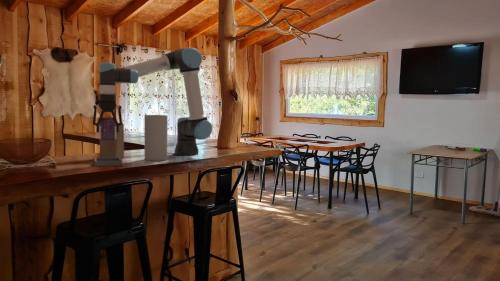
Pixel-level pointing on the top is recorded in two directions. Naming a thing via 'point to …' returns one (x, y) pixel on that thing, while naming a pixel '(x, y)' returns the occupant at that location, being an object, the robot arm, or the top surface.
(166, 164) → the top surface
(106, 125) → the beverage can
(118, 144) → the wooden block
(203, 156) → the top surface
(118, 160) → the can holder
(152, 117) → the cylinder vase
